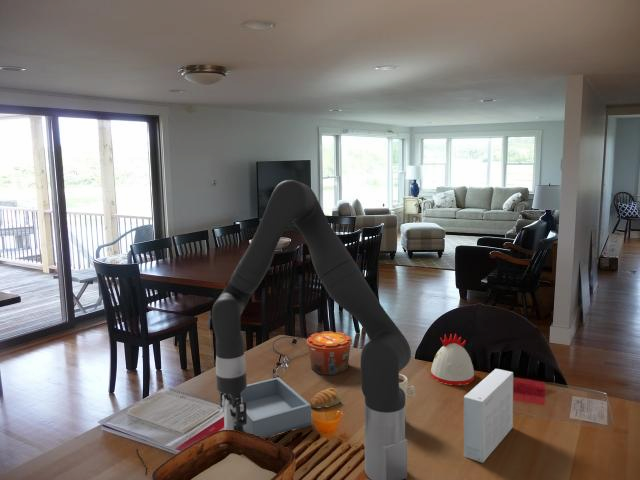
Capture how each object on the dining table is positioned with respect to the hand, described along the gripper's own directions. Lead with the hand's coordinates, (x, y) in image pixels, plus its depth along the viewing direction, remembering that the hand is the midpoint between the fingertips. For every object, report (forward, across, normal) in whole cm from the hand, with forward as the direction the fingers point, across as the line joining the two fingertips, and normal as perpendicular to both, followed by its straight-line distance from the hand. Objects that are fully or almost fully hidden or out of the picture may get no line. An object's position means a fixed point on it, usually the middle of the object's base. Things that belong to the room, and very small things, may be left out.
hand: (233, 431), depth 134 cm
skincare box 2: (+4, -33, -57) cm, 66 cm away
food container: (+4, +29, -46) cm, 54 cm away
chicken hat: (+4, +1, -77) cm, 77 cm away
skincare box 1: (+4, 0, 0) cm, 4 cm away
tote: (+3, +8, -13) cm, 16 cm away
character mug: (+3, -13, -42) cm, 44 cm away
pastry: (+4, +7, -32) cm, 32 cm away
